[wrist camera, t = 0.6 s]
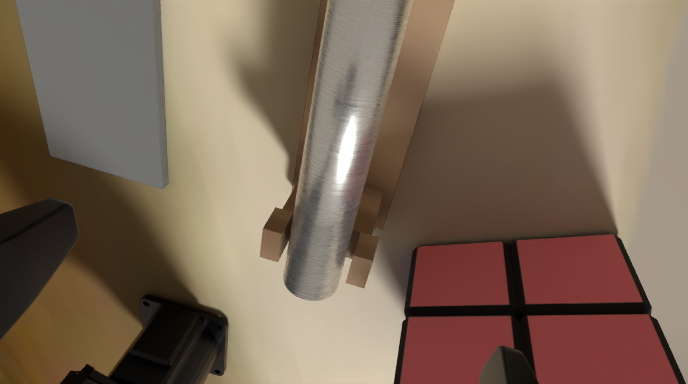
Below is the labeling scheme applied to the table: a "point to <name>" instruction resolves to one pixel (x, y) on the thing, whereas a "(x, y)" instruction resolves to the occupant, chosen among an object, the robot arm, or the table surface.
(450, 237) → the table surface
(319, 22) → the rack
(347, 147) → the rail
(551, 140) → the table surface
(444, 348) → the puzzle cube
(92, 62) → the mat
